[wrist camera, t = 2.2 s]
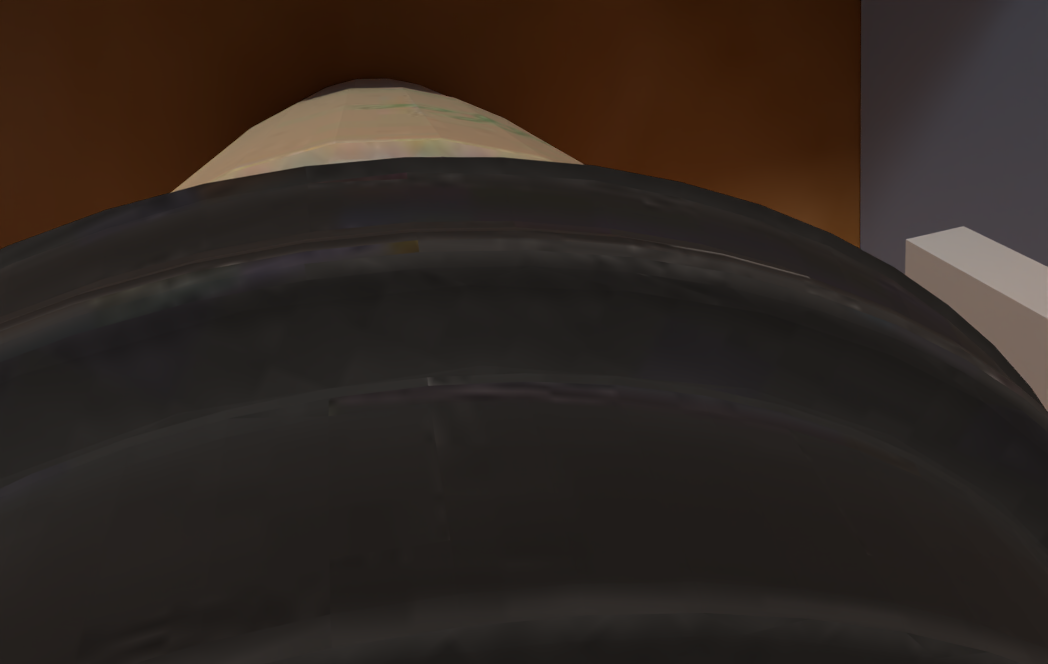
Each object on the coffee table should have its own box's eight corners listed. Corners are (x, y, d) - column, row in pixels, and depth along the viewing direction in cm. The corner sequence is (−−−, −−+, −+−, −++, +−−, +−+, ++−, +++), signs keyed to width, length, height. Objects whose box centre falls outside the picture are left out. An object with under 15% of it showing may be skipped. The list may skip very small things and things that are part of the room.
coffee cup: (673, 43, 17) (1909, 530, 3) (551, 462, 20) (937, 1504, 7) (142, -86, 14) (-2403, -117, 1) (109, 414, 18) (-584, 1852, 5)
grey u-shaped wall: (-448, -40, 13) (-1145, -1, 7) (916, -281, 15) (1309, -418, 9) (-56, 604, 19) (-252, 936, 13) (899, 371, 21) (1131, 562, 15)
